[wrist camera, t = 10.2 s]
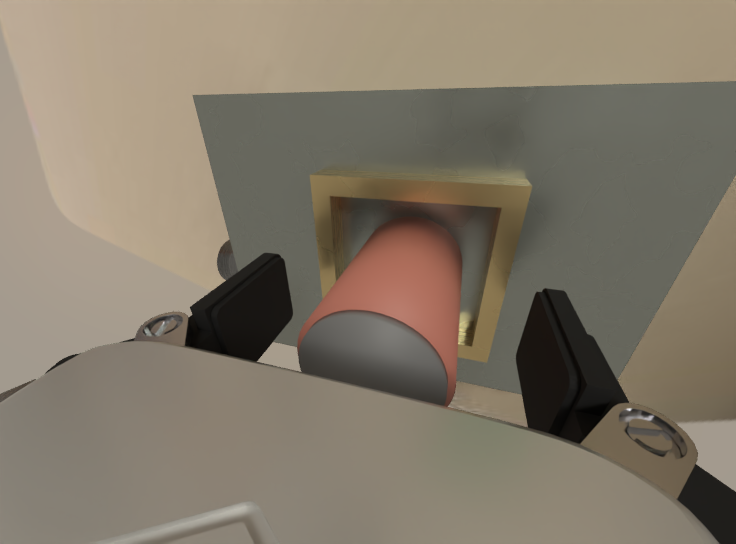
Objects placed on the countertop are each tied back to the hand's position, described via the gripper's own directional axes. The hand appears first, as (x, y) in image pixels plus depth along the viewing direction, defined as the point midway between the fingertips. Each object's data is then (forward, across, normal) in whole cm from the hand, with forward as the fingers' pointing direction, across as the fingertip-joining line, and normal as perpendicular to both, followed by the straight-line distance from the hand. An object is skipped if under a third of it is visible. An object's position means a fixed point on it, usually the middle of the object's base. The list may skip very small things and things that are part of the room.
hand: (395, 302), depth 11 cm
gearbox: (+9, +2, 0) cm, 9 cm away
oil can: (+3, 0, 0) cm, 3 cm away
